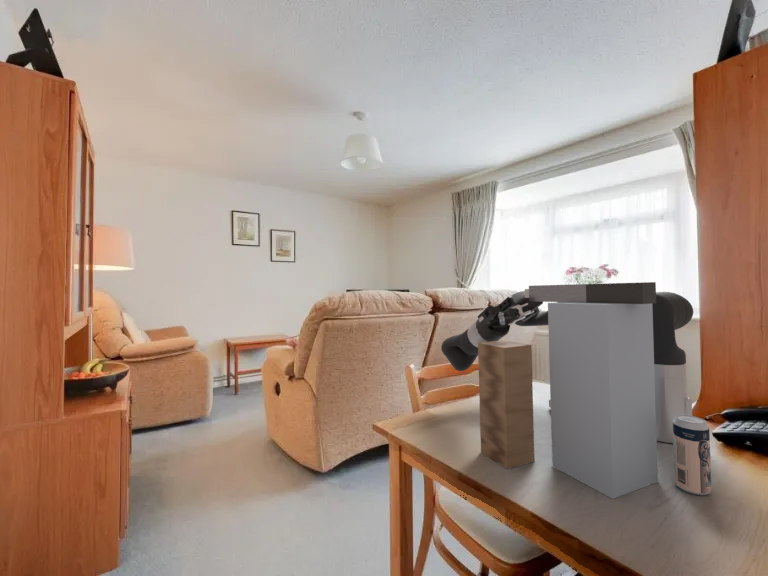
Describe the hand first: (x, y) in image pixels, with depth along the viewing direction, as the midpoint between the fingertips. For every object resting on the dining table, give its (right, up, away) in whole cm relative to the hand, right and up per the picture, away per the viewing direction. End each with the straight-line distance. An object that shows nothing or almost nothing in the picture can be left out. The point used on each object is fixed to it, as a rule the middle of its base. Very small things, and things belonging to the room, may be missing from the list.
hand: (526, 299), depth 82 cm
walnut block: (-7, -32, -8) cm, 34 cm away
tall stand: (+8, -32, -15) cm, 36 cm away
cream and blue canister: (+20, -32, -21) cm, 43 cm away
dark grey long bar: (+6, 0, -12) cm, 14 cm away
